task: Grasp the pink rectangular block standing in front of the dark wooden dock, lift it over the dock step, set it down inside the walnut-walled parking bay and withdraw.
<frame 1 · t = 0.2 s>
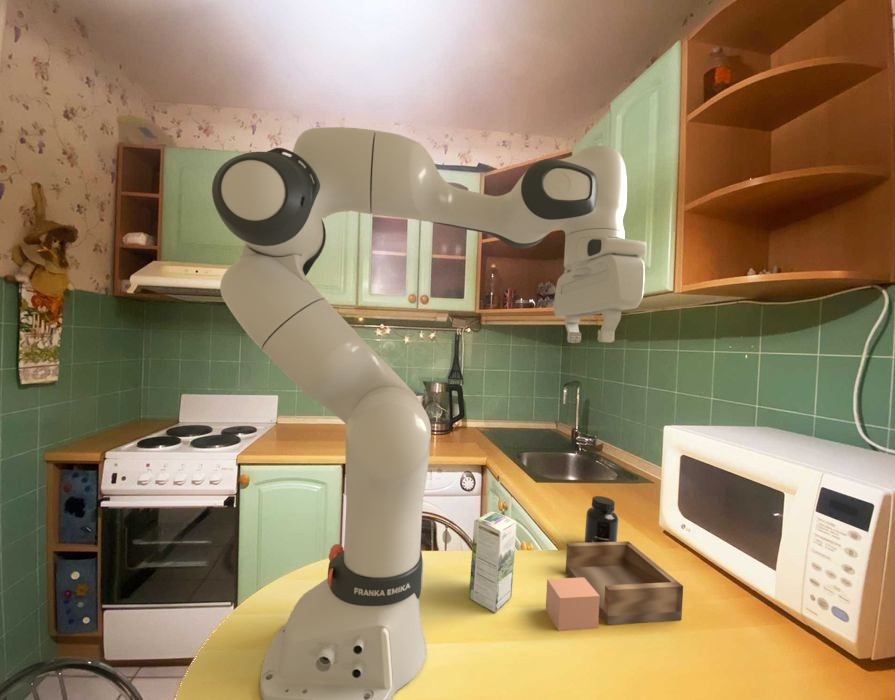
hand: (588, 342, 59), 47 cm above the table, fingers open, 8 cm apart
syrup box: (490, 599, 68), on the table
dock: (618, 593, 71), on the table
pink rectangular block: (570, 619, 64), on the table
supplement bottle: (599, 552, 86), on the table
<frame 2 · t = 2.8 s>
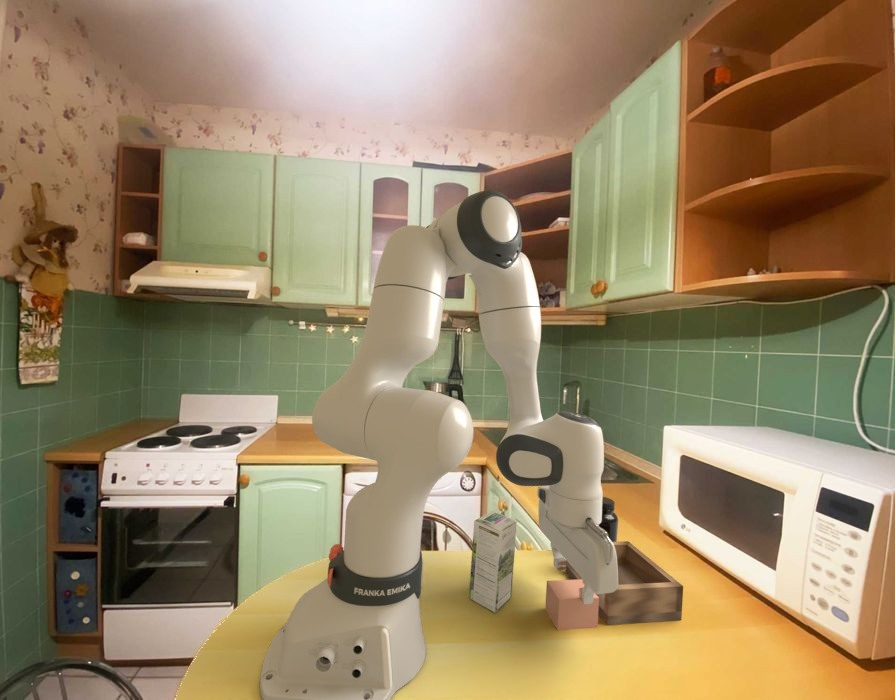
hand: (571, 583, 65), 5 cm above the table, fingers open, 7 cm apart
pink rectangular block: (570, 621, 64), on the table, touching gripper
everything else where it was.
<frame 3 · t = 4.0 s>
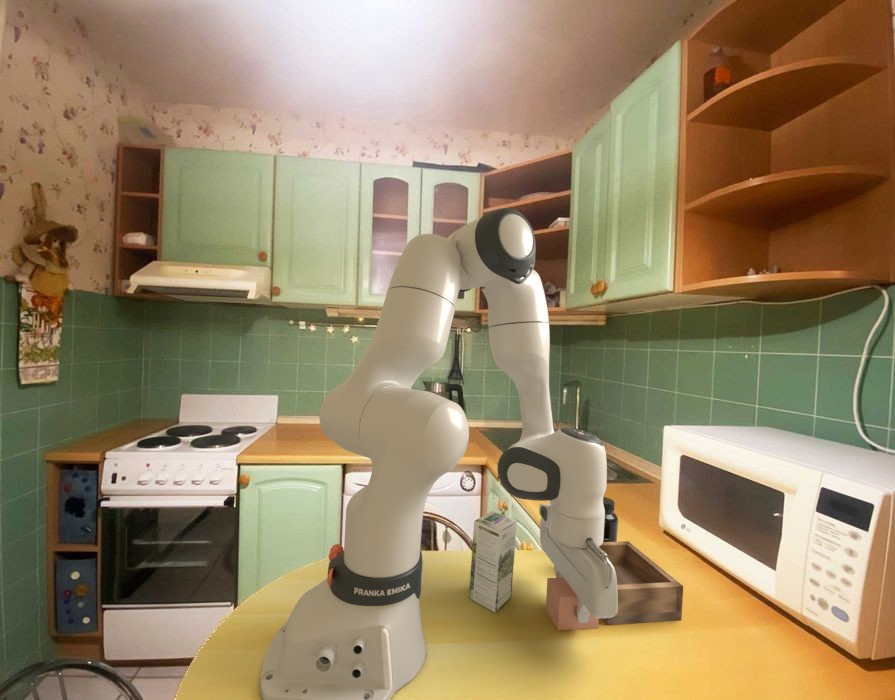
hand: (571, 605, 64), 2 cm above the table, fingers closed on pink rectangular block, 5 cm apart
pink rectangular block: (571, 618, 64), on the table, touching gripper
everything else where it was.
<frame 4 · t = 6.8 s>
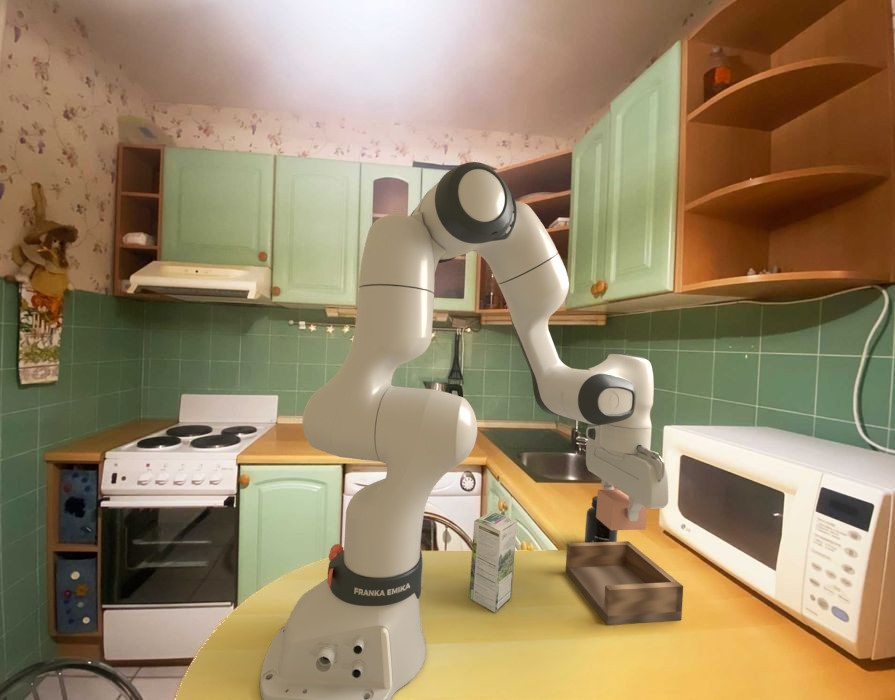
hand: (620, 511, 71), 16 cm above the table, fingers closed on pink rectangular block, 5 cm apart
pink rectangular block: (620, 523, 71), point 13 cm above the table, touching gripper
everything else where it was.
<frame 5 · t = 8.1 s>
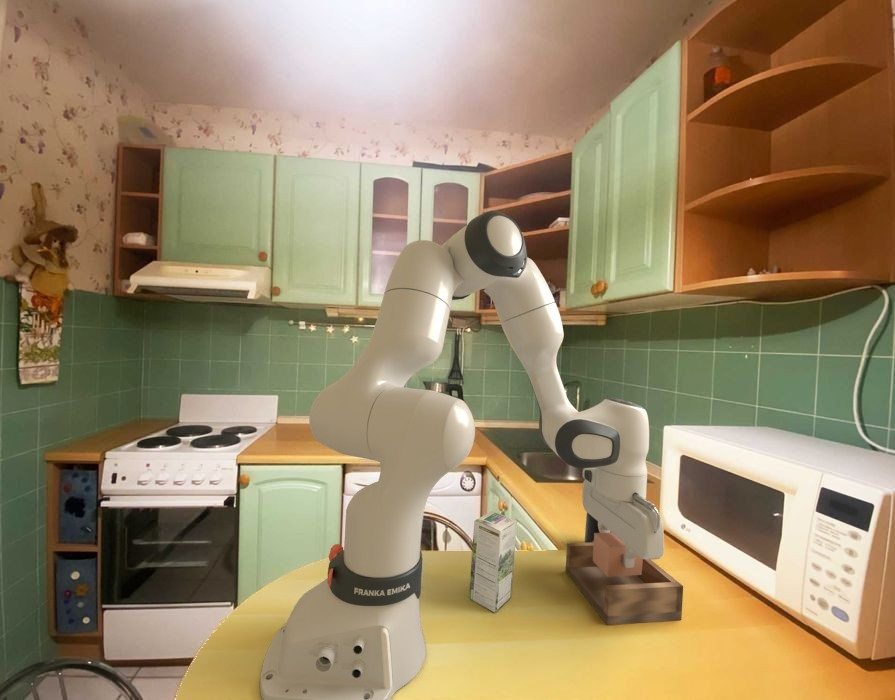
hand: (616, 555, 71), 7 cm above the table, fingers closed on pink rectangular block, 5 cm apart
pink rectangular block: (616, 567, 71), point 5 cm above the table, touching gripper
everything else where it was.
when the fingers open (5 cm above the table, at t = 9.4 s): pink rectangular block drops 1 cm, resting on dock.
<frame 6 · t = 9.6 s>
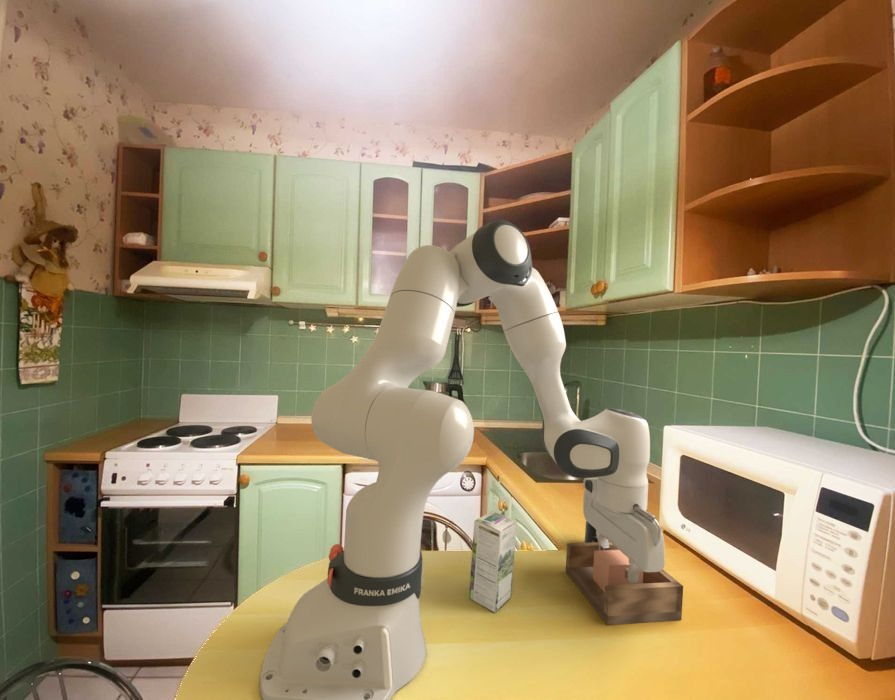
hand: (617, 567, 71), 5 cm above the table, fingers open, 7 cm apart
pink rectangular block: (616, 585, 71), point 1 cm above the table, touching dock
everything else where it was.
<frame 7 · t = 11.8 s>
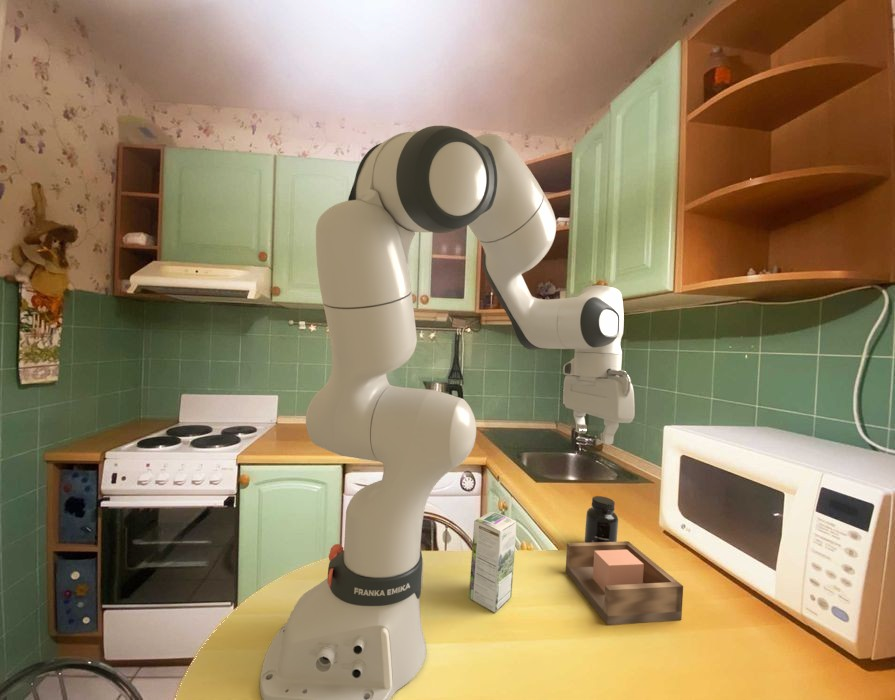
hand: (593, 437, 74), 29 cm above the table, fingers open, 8 cm apart
nothing on the table moved.
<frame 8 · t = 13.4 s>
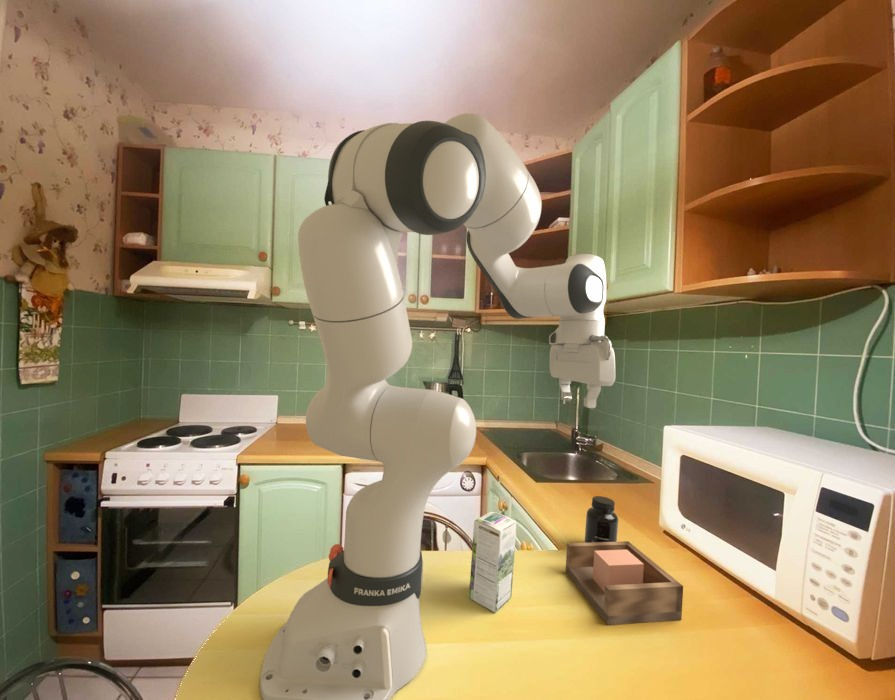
hand: (577, 403, 76), 35 cm above the table, fingers open, 8 cm apart
nothing on the table moved.
at the end: pink rectangular block inside the target area on the dock (0.4 cm from its centre), point 1.5 cm above the dock's base; pink rectangular block tilted 0°; the gripper is holding nothing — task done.
